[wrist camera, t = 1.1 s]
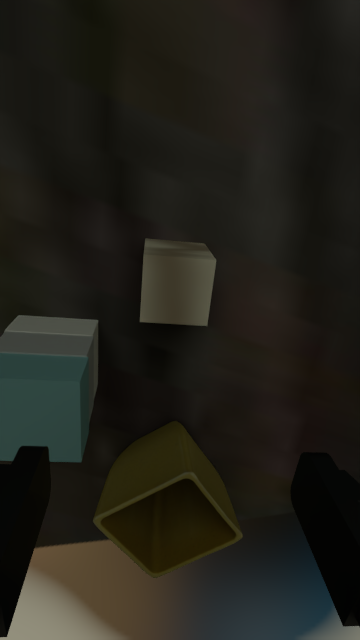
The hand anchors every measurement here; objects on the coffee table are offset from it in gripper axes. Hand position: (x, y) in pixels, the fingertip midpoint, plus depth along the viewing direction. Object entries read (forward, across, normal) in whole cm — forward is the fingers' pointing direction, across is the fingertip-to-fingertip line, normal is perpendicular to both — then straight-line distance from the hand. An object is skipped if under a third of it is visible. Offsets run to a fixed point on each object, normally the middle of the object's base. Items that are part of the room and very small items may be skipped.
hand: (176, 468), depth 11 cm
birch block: (+19, -1, -1) cm, 19 cm away
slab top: (+13, +8, +7) cm, 17 cm away
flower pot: (+19, -2, +17) cm, 25 cm away
